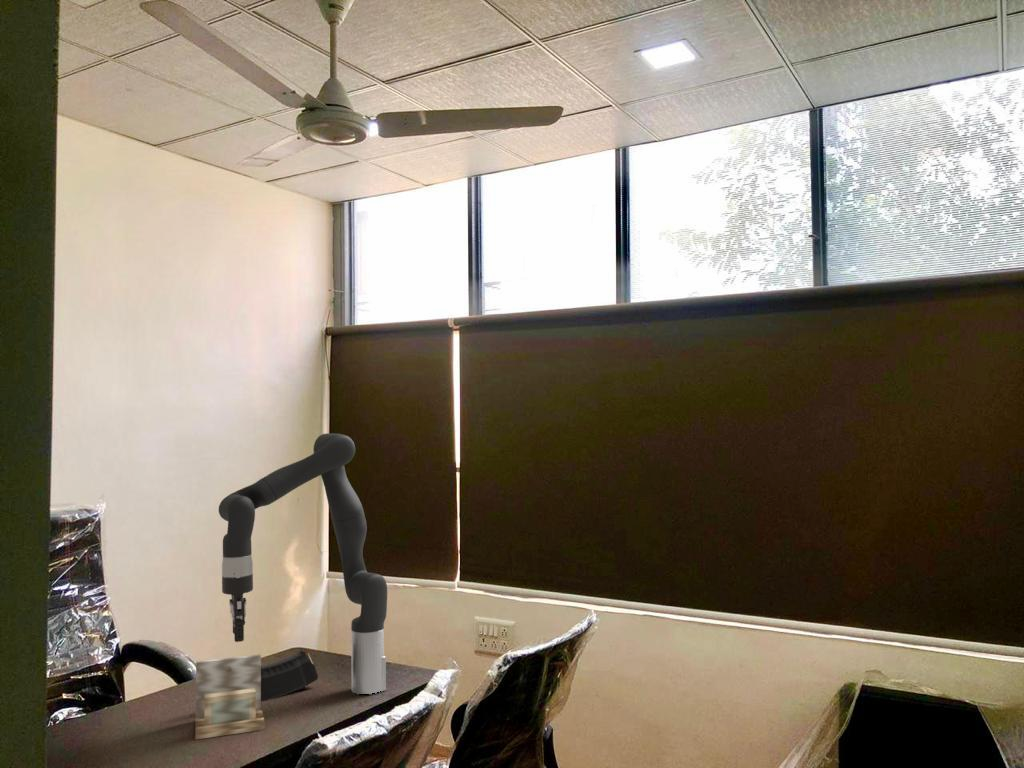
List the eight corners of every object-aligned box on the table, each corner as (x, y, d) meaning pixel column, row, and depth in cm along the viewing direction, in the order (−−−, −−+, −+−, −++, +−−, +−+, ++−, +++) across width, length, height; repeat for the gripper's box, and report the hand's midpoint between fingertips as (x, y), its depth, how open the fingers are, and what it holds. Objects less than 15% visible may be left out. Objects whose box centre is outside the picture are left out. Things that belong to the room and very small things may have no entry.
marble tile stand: (260, 711, 211) (260, 654, 212) (264, 729, 198) (264, 668, 199) (195, 720, 205) (196, 661, 206) (195, 739, 192) (196, 676, 193)
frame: (254, 720, 202) (254, 687, 202) (255, 724, 199) (255, 691, 199) (204, 727, 197) (204, 694, 198) (204, 731, 194) (204, 698, 195)
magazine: (205, 680, 209) (305, 628, 229) (200, 678, 212) (299, 626, 231) (223, 739, 212) (320, 682, 231) (218, 736, 214) (315, 680, 234)
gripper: (220, 570, 209) (221, 632, 208) (223, 579, 195) (223, 646, 195) (250, 567, 212) (251, 629, 211) (254, 576, 198) (255, 642, 197)
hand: (238, 637), depth 203 cm, fingers open, 8 cm apart
